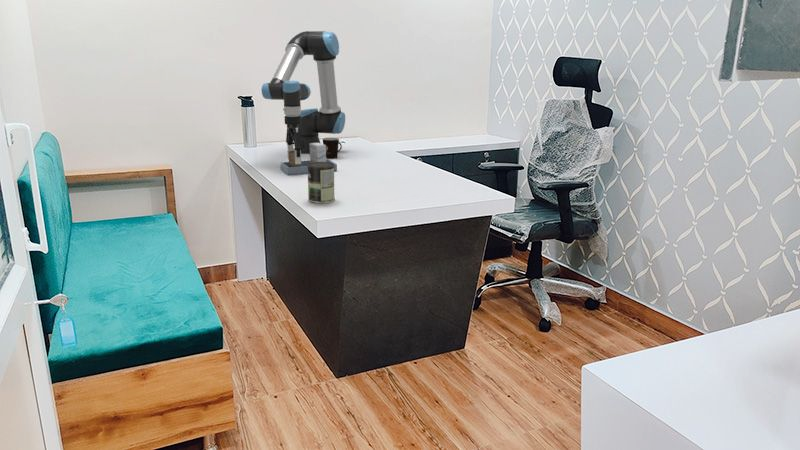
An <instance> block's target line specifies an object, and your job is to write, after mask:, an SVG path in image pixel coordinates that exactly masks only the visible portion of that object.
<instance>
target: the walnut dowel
mask: <svg viewBox="0 0 800 450" xmlns="http://www.w3.org/2000/svg"><path fill="white" fill-rule="evenodd" d="M288 162H289V167H300V164H295V150H294V151H289V159H288Z"/></svg>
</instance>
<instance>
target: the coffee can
mask: <svg viewBox="0 0 800 450" xmlns="http://www.w3.org/2000/svg"><path fill="white" fill-rule="evenodd" d="M307 167H308V174H307V184H308V185H307V186H308V187H307V190H308V193H307V194H308V202H309V203H312V202H316V203H315V204H328V203H329V202H330V203H333V202H334V201H335V172H334V164H333V163H330V162H313V163H309V164H307Z"/></svg>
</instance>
